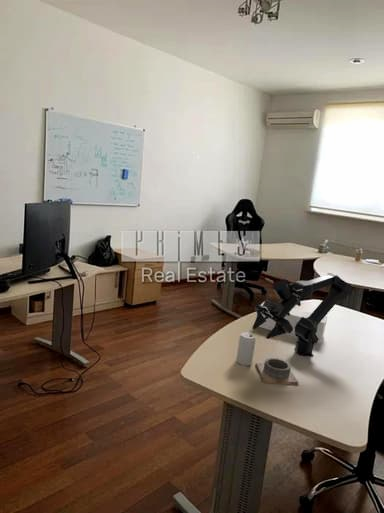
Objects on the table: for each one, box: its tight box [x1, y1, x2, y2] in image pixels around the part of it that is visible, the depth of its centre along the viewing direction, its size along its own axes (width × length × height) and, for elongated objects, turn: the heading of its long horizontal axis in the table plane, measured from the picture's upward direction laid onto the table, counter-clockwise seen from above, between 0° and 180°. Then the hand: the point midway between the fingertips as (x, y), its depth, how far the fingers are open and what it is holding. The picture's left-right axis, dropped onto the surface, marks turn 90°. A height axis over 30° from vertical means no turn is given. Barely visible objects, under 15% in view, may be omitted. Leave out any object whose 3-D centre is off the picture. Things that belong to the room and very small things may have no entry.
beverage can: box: [235, 331, 256, 366], centre depth 153 cm, size 6×6×12 cm
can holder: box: [255, 357, 299, 386], centre depth 147 cm, size 13×13×4 cm
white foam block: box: [258, 300, 328, 345], centre depth 192 cm, size 32×11×11 cm, turn 65°
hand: (259, 333), depth 155 cm, fingers open, 9 cm apart
